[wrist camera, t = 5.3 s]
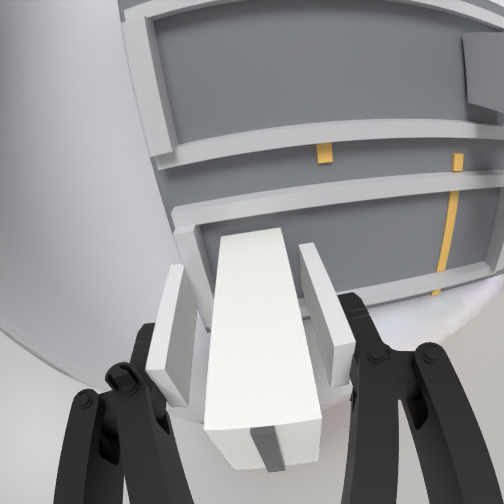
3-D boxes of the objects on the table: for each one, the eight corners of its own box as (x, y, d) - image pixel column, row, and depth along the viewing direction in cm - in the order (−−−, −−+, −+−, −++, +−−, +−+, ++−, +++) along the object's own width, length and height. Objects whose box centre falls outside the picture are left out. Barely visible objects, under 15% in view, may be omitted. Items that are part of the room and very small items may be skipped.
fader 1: (235, 296, 17) (235, 474, 9) (220, 236, 15) (203, 436, 6) (287, 289, 17) (318, 465, 8) (280, 227, 15) (323, 424, 6)
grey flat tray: (209, 312, 21) (205, 348, 18) (131, 6, 10) (105, -8, 7) (492, 259, 20) (514, 282, 17) (508, 18, 9) (540, 19, 6)
